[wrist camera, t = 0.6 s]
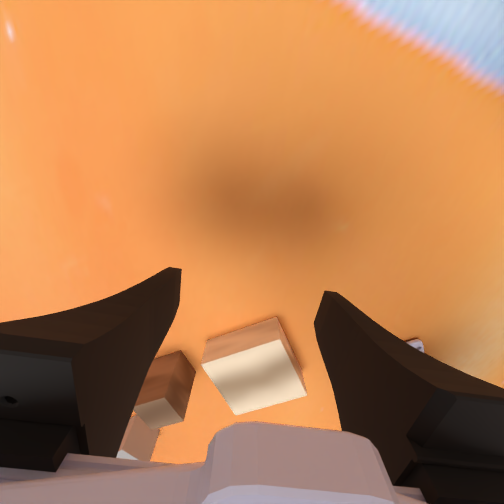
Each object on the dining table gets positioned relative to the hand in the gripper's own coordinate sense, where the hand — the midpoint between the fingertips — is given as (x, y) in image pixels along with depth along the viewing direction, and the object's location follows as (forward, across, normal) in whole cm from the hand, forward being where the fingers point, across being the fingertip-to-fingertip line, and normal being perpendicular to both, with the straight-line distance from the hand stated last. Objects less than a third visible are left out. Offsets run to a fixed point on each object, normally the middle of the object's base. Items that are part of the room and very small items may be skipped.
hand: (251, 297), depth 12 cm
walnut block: (+10, +6, +17) cm, 21 cm away
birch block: (+10, -3, +14) cm, 18 cm away
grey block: (+10, +10, +29) cm, 32 cm away
